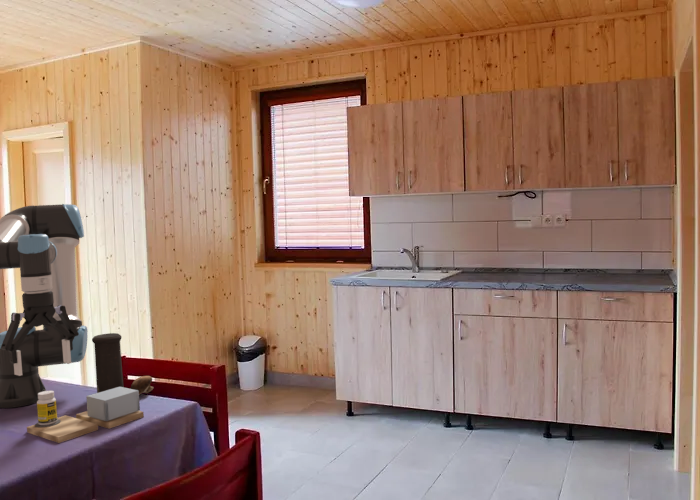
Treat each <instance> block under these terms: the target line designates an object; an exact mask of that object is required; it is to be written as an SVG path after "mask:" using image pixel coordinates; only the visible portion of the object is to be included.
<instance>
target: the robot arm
mask: <svg viewBox="0 0 700 500" xmlns="http://www.w3.org/2000/svg"><path fill="white" fill-rule="evenodd" d="M82 220H83V219H82V216H81V212H80V210H79V207H78V206H77V205H76V204H69V203H68V204H67V203H66V204H65V203H62V204H45V205H44V204H43V205H42V204H39V205H26V206H23V207H19V208H16V209H14V210H12V211H9V212H8V213H6V214H4V215H3V216H2V217H1V218H0V270H7V269H9V270H10V269H19V271H20V285H21V287H20V288H21V291H22V292H23V294H21V299H22V307H23V312H12V313H11V314H10V315H11V316H10V317H11V318H10V322H9V325H8V327H7V328H8V329H7V330H5V331H2V332H0V408H1V409H10V408H17V407H19V408H20V407H24V406H29V405H32V404H37V401H38V400H39V399H38V393H40V392H43V391H47V389H46V387H45V385H44V383H43V380H42V379H41V375H40V373H39V367H47V366H55V365H56V366H57V365H64V364H67V365H70V364H72V363H73V364H74V363H79V362H81V361H83V360H84V358H85V356H86V353H87V348H88V327H87V326H86V325H84V324H83V321H82V319H80V318H79V317H78V310H77V309H78V308H77V307H78V306H77V305H78V304H77V282H76V280H77V279H76V278H77V275H76V252H75V251H76V247H77V246H79V244H80V239H83V238H84V237H85V231H84V226H83V225H84V224H83V221H82ZM23 319H24V320H25V321H24V322H23V324H22V325H21V326H22V327H21V326H20V323H21V321H23ZM40 326H42V328H43V329H36V328H37V327H40Z"/></svg>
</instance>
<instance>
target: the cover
mask: <svg viewBox="0 0 700 500" xmlns="http://www.w3.org/2000/svg"><path fill="white" fill-rule="evenodd" d="M140 404H141V403H140V395H139V391H138V390H134V389H131V388H128V387H117V388H113V389H110V390H106V391H103V392H99V393H97V392H96V393H93V394H90V395H86V411H88V416H89V417H93V418H96V419H100V420H104V421H109V420H112V419H115V418H118V417H121V416H124V415H127V414H130V413H133V412H136V411H141V407H140Z"/></svg>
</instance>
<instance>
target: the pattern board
mask: <svg viewBox="0 0 700 500" xmlns="http://www.w3.org/2000/svg"><path fill="white" fill-rule="evenodd" d="M144 413H145V412H144V410H143V411H141V410H139V411H136V412H133V413H130V414H127V415H124V416H121V417H118V418H115V419H112V420H109V421H104V420H100V419H96V418H93V417H89V416H88V411H87V410H86V411H83V412H79V413H76V414H75V418H77V419H80V420H84V421H88V422H91V423H95V424H98V427H102V428H105V429H109V430H110V429H112V428H116V427H117V426H118V427H119V426H122V425H123V424H126V423H130V422H133V421H136V420H139V419H141V418H144Z"/></svg>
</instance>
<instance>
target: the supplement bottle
mask: <svg viewBox="0 0 700 500" xmlns="http://www.w3.org/2000/svg"><path fill="white" fill-rule="evenodd" d="M38 399H39V400H38V401H37V403H36V411H37V420H38V421H37V423H38V424H39V425H50V424H53V423H55V422H57V418H58V412H57V411H58V409H57V399H56V397H55V391H54V390H46V391H43V392H40V393H38Z"/></svg>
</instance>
